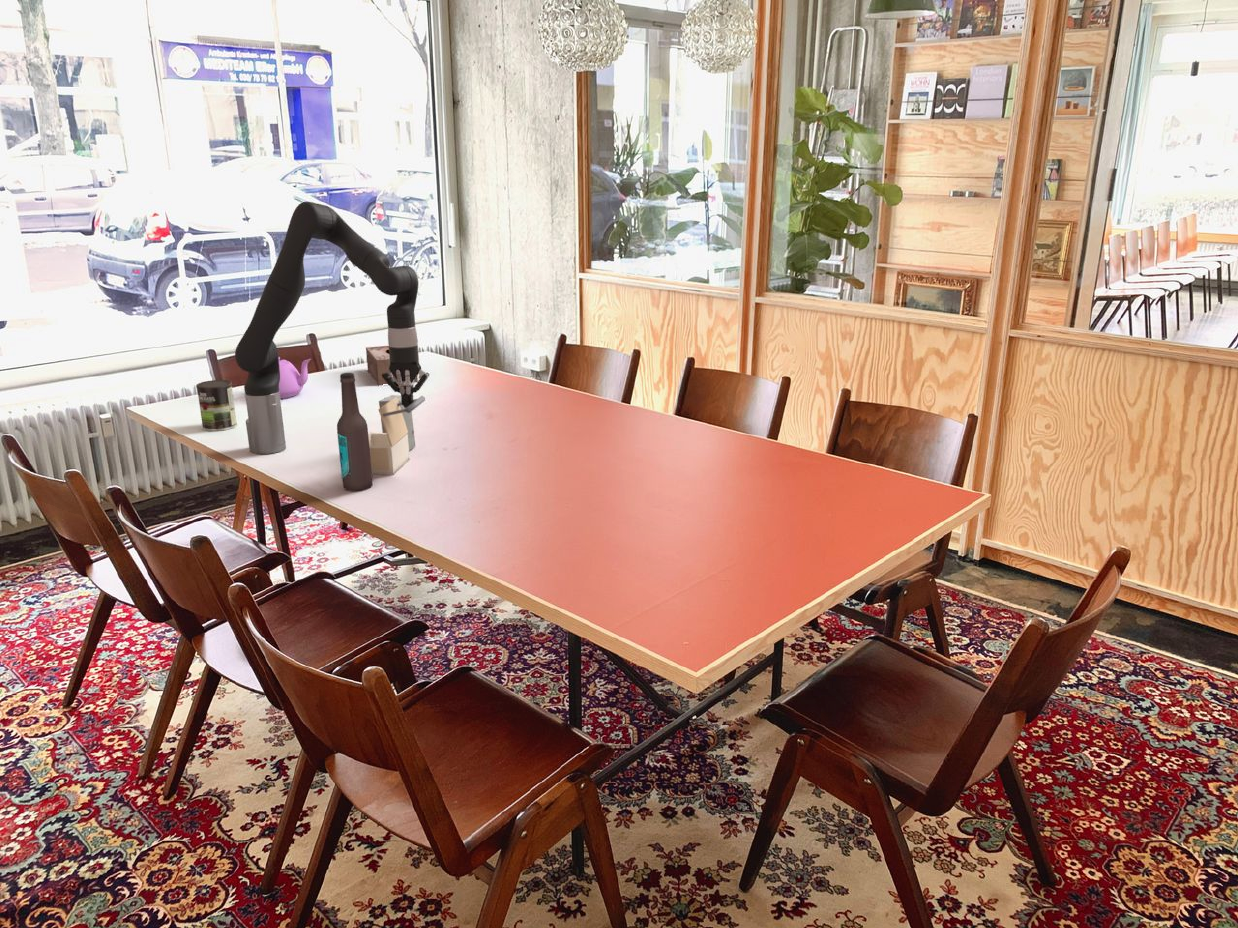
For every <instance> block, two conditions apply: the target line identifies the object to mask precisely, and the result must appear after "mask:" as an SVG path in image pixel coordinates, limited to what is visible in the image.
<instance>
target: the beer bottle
mask: <svg viewBox="0 0 1238 928" xmlns="http://www.w3.org/2000/svg"><path fill="white" fill-rule="evenodd" d="M339 376H340V377H339V378H340V379H339V380H340V381H339V382H340V383H341V385H340V386H341V410H342V411H341V415H340V417H339V418H338V421H337V424H336V431H337V433H336V435H337V442H338V445H337V446H338V452H339V463H340V472H341V479H342V480H341V481H342V487H343V489H345V490H346V491H350V492H361V491H365V490H367V489H370V488H371V487H372V486H373V482H374V481H373V480H374V479H373V474H372V469H371V458H370V448H369V437H368V434H369V429H368V428H369V427H368V424H367V420H366V419H365V417H364V416H363V414H361V413H360V409H359V402H358V395H357V389H356V384H355V383H356V379H355V373H353V372H343V373H341V374H340V375H339Z"/></svg>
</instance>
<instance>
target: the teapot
mask: <svg viewBox="0 0 1238 928" xmlns="http://www.w3.org/2000/svg"><path fill="white" fill-rule="evenodd" d="M311 360H312V358H308V359H305V360H303V361H302V363H301V367H300V369H301V370H300V372H299V371H298V369H297V368H296V367H295V365H294V364H293V363H291V361H289V360H286V359H281V357H280V356H279V368H280V382H279V394H280V399H289V398H291V397H294V396H298V394H300V392H301V391H302V390H303V388H304V386H305V384H306V383H307V382H308V379H309V373H308V363H309V362H310V361H311ZM288 397H289V398H288Z"/></svg>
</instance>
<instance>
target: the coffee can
mask: <svg viewBox="0 0 1238 928" xmlns="http://www.w3.org/2000/svg"><path fill="white" fill-rule="evenodd" d="M195 387H196V390H197V397H198V403H199V404H198V405H199V411H200V418H201V425H202V430H204V431H208V432H224V431H228V430H231V429H235V428H236V427H237V426H238V423H237V415H236V408H235V402H234V401H235V400H234V393H233V392H234V391H233V382H232V381H230V380H225V379H213V380H206V381H201V382H199V383H197V384H196V385H195Z"/></svg>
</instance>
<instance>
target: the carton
mask: <svg viewBox="0 0 1238 928" xmlns="http://www.w3.org/2000/svg"><path fill="white" fill-rule="evenodd" d="M368 437H369V448H370V458H371V469H372V475H385V474H392V475H393V476H394V475H395V474H396V473H397V472H398V471H400V470H401V468H403V467H404V466H405V465H406V464H407V463H408V462H409V461H410V460H411V459H410V451H409V444H408V434H406V435H404V436H403V437H402V438H401V439H400V440H398V441H397V442H396V443H395V444H394V445H393V446H390V443H389V440H388V437H387V434H386V433H383V432H368ZM392 475H391V476H392Z"/></svg>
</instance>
